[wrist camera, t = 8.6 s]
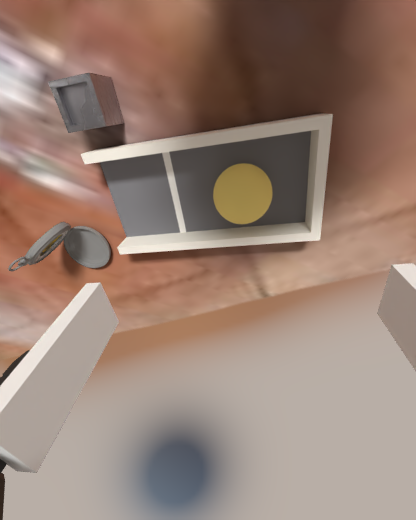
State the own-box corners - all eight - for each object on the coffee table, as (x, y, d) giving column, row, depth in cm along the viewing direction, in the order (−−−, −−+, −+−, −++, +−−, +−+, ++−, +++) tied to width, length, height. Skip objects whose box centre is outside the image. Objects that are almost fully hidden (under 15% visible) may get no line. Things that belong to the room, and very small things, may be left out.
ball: (219, 213, 30) (214, 236, 25) (212, 162, 26) (205, 175, 21) (270, 209, 28) (275, 231, 23) (269, 154, 25) (275, 166, 20)
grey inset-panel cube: (90, 129, 27) (68, 132, 23) (75, 85, 25) (48, 81, 21) (124, 123, 26) (106, 126, 23) (111, 77, 24) (88, 72, 20)
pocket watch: (112, 268, 37) (74, 316, 29) (59, 255, 37) (5, 299, 29) (112, 220, 33) (66, 260, 24) (50, 205, 32) (-16, 240, 24)
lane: (130, 241, 34) (120, 254, 31) (97, 148, 28) (80, 154, 25) (312, 226, 30) (319, 240, 27) (321, 113, 23) (332, 114, 20)
